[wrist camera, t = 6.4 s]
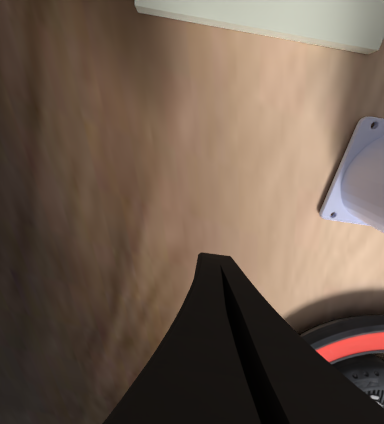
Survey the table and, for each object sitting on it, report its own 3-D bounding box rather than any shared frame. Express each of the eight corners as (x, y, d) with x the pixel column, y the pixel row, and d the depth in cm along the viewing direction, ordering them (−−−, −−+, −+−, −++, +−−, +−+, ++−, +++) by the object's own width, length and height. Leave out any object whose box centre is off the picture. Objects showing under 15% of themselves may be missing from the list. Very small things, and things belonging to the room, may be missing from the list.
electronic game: (380, 420, 31) (411, 468, 27) (236, 404, 30) (243, 452, 26) (488, 314, 22) (560, 360, 18) (290, 286, 21) (315, 328, 17)
